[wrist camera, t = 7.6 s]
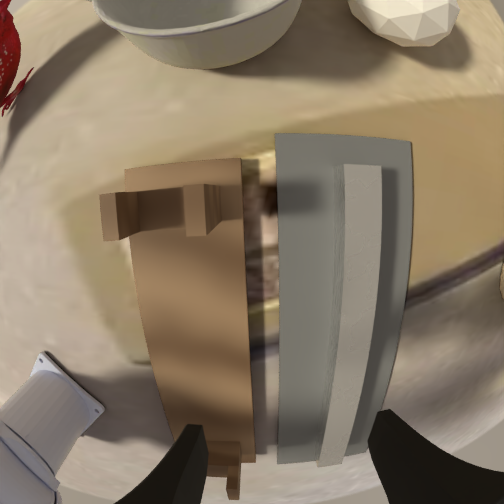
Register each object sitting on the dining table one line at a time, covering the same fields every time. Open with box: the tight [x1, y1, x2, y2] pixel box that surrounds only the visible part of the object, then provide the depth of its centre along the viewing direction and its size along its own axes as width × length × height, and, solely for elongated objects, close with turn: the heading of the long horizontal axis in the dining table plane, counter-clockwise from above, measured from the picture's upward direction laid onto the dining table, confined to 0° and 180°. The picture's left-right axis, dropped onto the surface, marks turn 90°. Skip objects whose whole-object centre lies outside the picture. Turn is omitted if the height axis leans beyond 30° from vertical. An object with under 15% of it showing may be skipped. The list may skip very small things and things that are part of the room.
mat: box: [275, 133, 412, 464], centre depth 19 cm, size 28×9×1 cm, turn 2°
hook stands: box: [100, 158, 256, 500], centre depth 16 cm, size 25×7×6 cm, turn 2°
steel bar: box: [314, 164, 382, 467], centre depth 17 cm, size 24×2×2 cm, turn 2°
